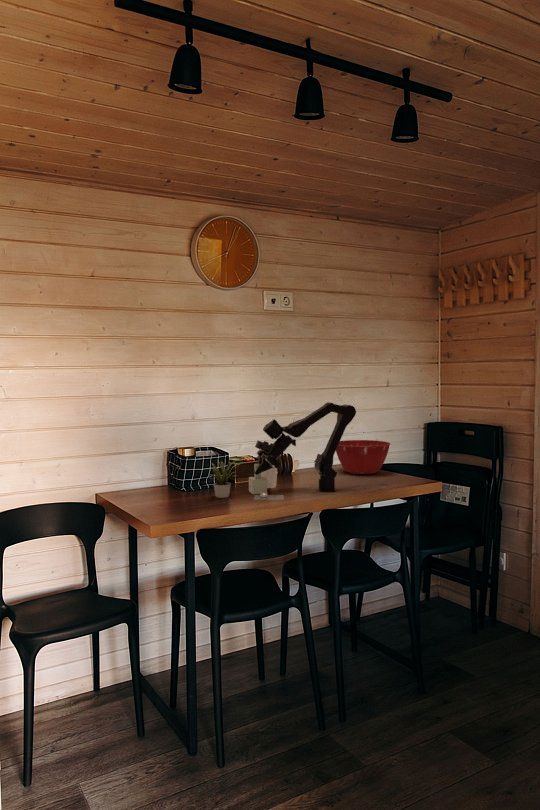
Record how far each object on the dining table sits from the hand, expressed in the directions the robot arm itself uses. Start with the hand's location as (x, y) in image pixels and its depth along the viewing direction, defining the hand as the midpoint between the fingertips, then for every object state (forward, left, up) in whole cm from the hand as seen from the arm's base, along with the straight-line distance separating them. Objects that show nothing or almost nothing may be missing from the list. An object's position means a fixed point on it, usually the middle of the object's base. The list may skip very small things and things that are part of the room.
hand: (254, 473), depth 269 cm
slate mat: (-6, +10, -9) cm, 15 cm away
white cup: (-5, -16, -9) cm, 20 cm away
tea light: (-4, +11, -8) cm, 14 cm away
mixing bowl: (-51, -53, -9) cm, 75 cm away
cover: (-1, 0, -9) cm, 9 cm away
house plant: (+12, +8, -9) cm, 17 cm away
